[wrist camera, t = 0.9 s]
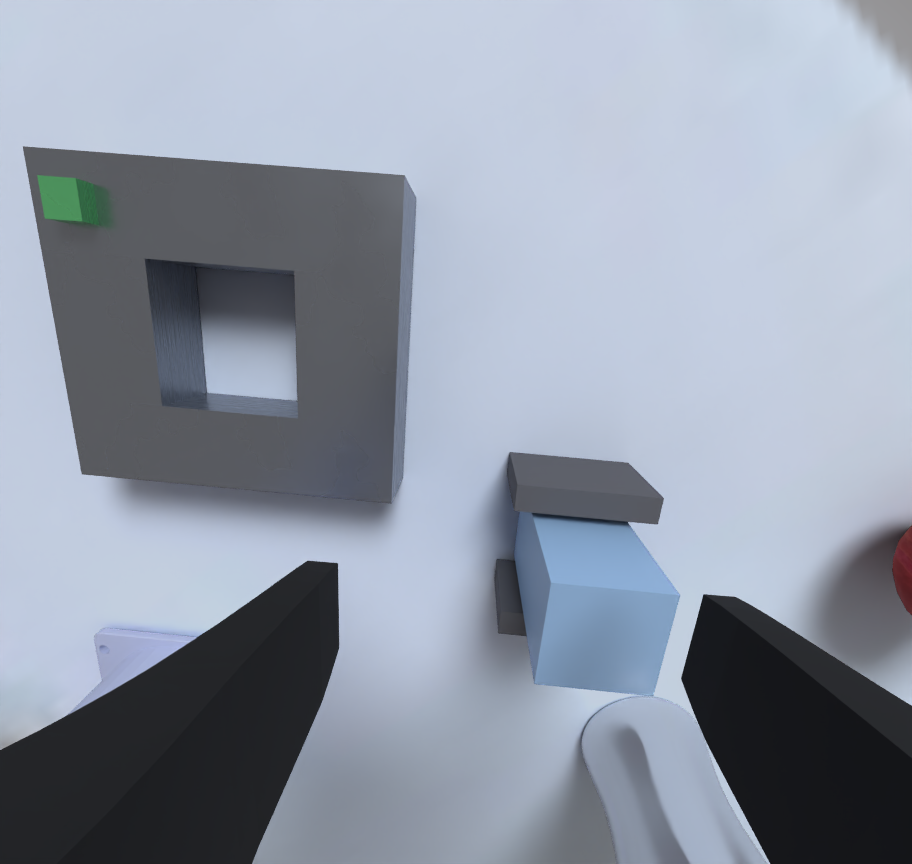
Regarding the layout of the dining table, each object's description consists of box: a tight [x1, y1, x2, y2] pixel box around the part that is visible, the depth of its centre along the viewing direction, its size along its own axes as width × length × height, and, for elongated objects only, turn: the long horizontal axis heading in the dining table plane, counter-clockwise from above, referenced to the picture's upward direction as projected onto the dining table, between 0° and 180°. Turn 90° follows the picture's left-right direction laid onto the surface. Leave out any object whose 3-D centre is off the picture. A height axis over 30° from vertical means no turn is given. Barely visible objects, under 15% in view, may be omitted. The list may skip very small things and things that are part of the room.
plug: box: [514, 512, 680, 696], centre depth 15 cm, size 4×4×7 cm
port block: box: [23, 147, 416, 503], centre depth 15 cm, size 11×12×3 cm
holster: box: [495, 452, 664, 636], centre depth 17 cm, size 6×5×4 cm
